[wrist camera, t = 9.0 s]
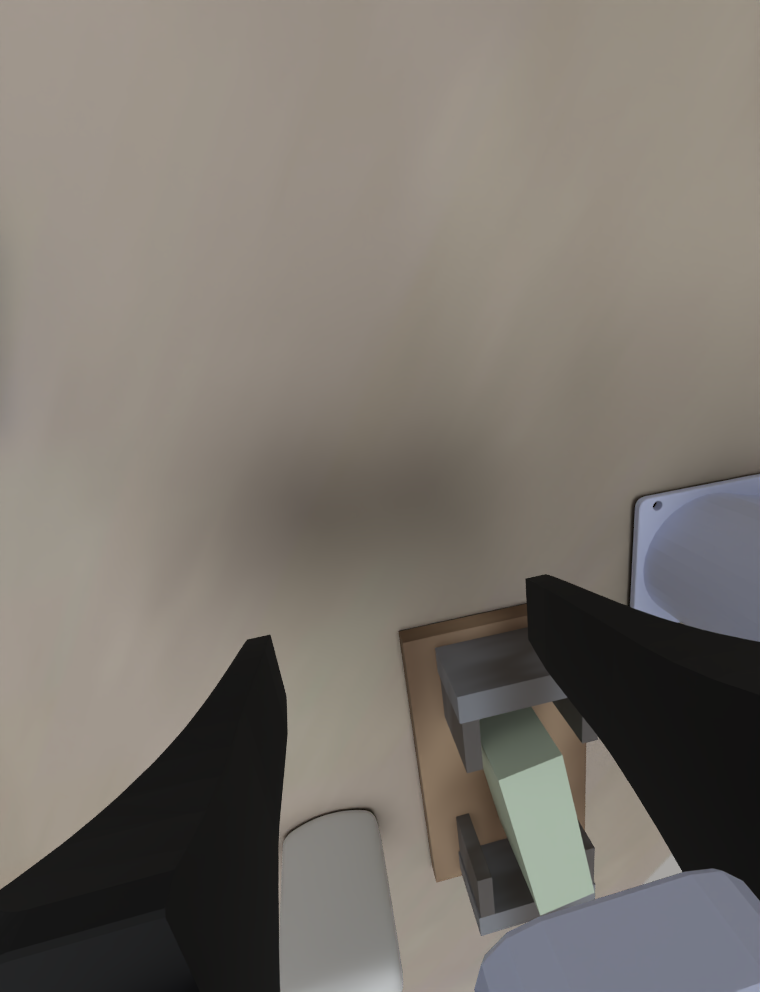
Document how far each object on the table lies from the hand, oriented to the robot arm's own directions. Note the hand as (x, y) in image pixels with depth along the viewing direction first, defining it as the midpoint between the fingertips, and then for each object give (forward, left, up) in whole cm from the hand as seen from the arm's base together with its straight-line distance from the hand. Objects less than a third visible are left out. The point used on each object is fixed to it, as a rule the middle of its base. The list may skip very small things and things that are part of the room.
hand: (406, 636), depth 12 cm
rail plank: (-6, +15, -8) cm, 19 cm away
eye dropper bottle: (+5, +19, -10) cm, 22 cm away
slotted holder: (-6, +16, -10) cm, 19 cm away
